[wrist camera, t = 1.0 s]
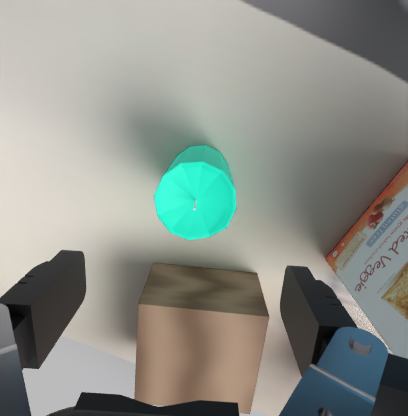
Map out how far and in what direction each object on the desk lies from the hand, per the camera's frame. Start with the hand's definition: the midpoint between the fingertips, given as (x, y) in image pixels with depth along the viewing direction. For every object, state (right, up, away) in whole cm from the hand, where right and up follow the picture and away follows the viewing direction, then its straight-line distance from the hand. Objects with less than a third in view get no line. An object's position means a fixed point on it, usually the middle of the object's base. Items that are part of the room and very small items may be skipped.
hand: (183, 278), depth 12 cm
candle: (0, +7, +20) cm, 21 cm away
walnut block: (0, -10, +25) cm, 27 cm away
